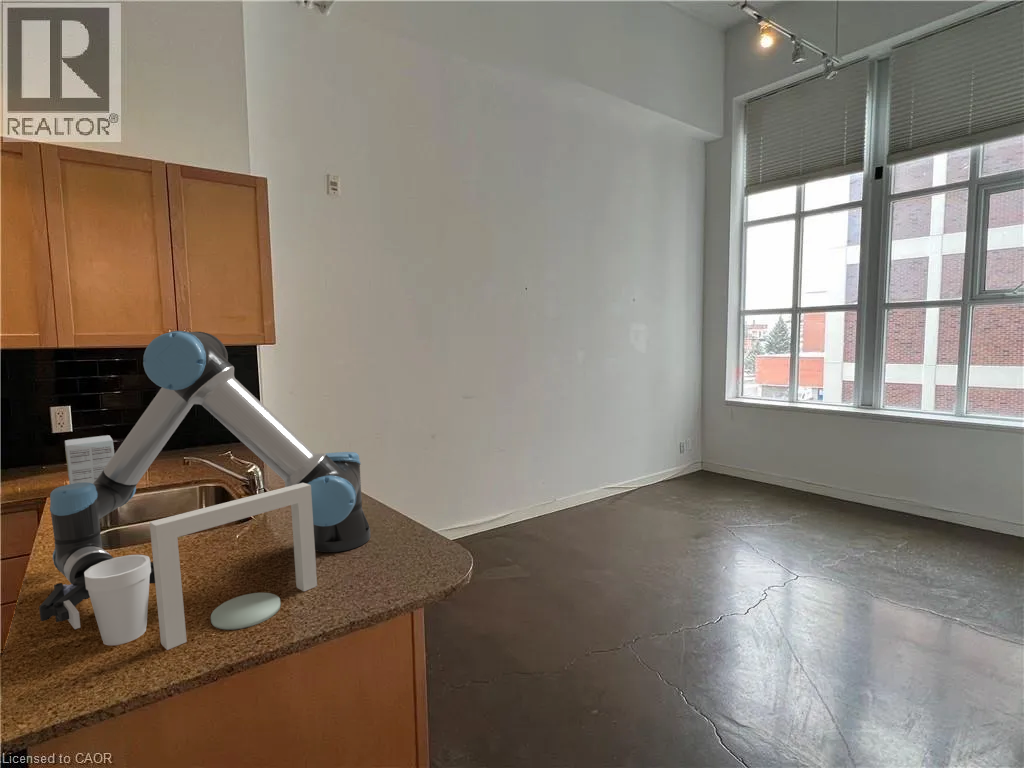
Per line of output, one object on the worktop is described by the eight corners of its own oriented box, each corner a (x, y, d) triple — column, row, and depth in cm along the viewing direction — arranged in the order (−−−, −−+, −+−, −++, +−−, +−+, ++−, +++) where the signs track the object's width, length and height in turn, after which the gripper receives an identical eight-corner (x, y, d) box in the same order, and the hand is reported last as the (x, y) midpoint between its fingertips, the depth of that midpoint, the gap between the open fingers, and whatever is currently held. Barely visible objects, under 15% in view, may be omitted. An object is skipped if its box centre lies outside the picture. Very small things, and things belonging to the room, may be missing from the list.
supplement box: (69, 487, 189) (64, 440, 187) (114, 480, 198) (110, 434, 196) (70, 495, 179) (65, 445, 178) (118, 487, 188) (113, 439, 186)
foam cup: (167, 619, 99) (161, 553, 97) (134, 649, 90) (127, 577, 88) (116, 621, 98) (109, 555, 97) (77, 651, 89) (69, 579, 88)
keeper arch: (298, 576, 116) (292, 479, 113) (329, 592, 108) (322, 488, 106) (152, 634, 94) (140, 516, 92) (177, 660, 86) (165, 531, 84)
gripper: (165, 566, 115) (205, 595, 101) (9, 615, 95) (33, 659, 82) (162, 533, 114) (201, 557, 101) (4, 576, 95) (27, 614, 81)
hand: (126, 603), depth 91 cm, fingers open, 13 cm apart
